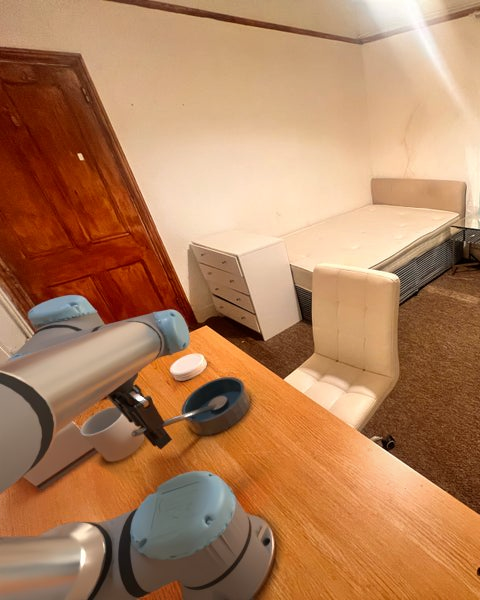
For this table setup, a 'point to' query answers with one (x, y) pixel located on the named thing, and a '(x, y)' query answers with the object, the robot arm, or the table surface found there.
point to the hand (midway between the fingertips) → (162, 442)
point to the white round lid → (188, 367)
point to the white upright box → (58, 452)
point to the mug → (111, 434)
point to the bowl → (206, 393)
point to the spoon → (194, 413)
